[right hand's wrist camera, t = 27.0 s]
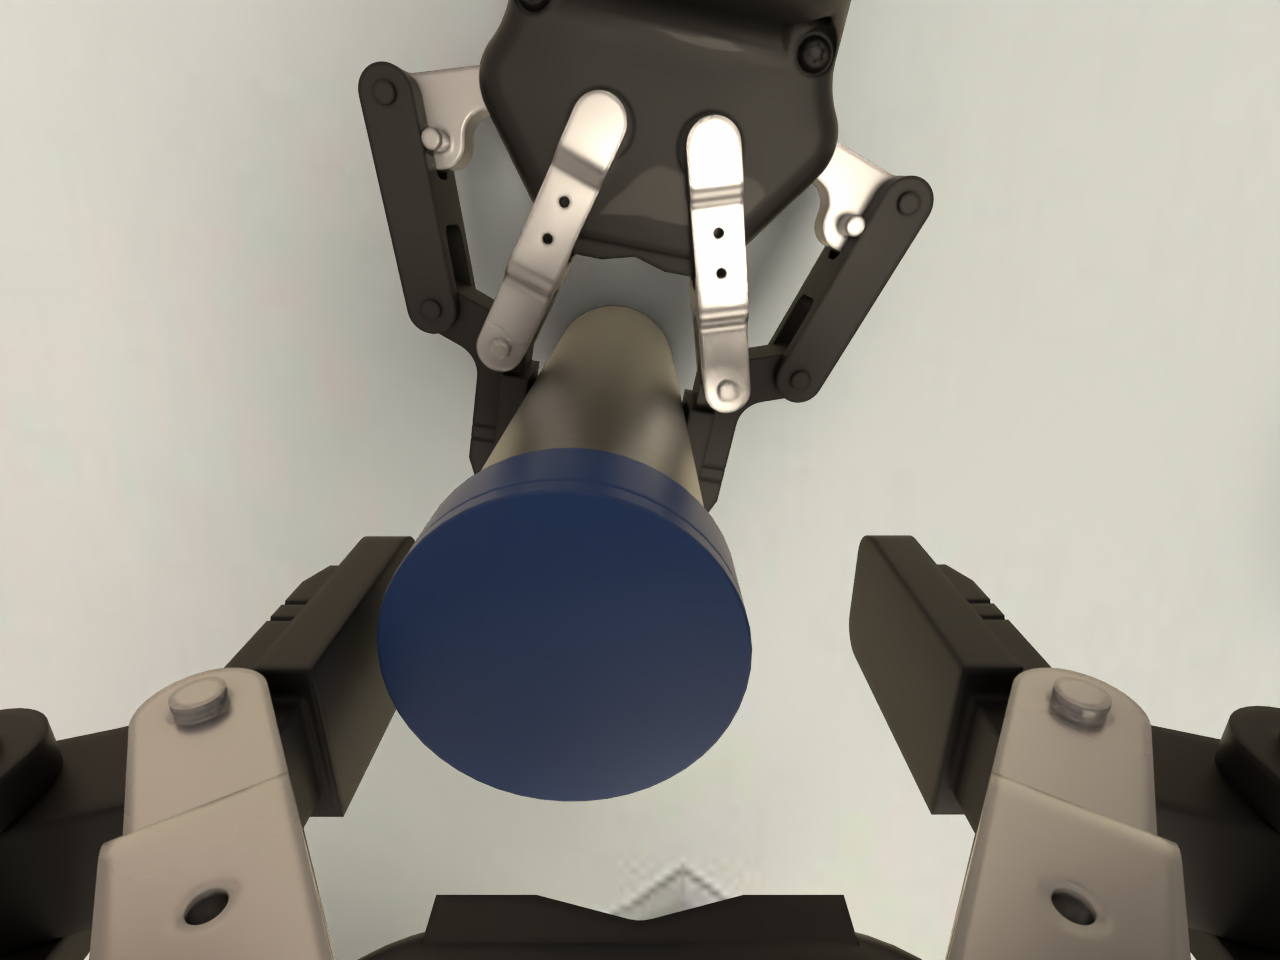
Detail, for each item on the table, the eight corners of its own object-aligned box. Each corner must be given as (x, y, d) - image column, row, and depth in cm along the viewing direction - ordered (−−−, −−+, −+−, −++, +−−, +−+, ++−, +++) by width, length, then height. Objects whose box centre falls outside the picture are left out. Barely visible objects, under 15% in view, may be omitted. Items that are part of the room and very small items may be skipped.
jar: (690, 331, 25) (777, 549, 9) (646, 437, 26) (656, 779, 11) (578, 286, 24) (463, 436, 8) (540, 397, 26) (383, 697, 10)
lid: (785, 655, 11) (809, 727, 9) (519, 763, 11) (502, 845, 10) (646, 386, 9) (648, 421, 8) (348, 534, 10) (297, 592, 8)
